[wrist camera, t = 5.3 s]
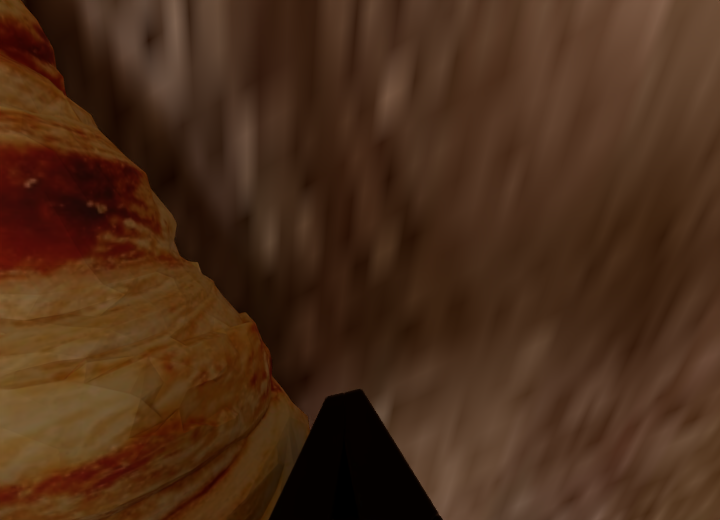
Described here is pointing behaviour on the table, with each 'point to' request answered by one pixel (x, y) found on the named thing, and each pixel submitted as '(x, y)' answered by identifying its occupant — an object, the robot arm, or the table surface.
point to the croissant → (116, 332)
